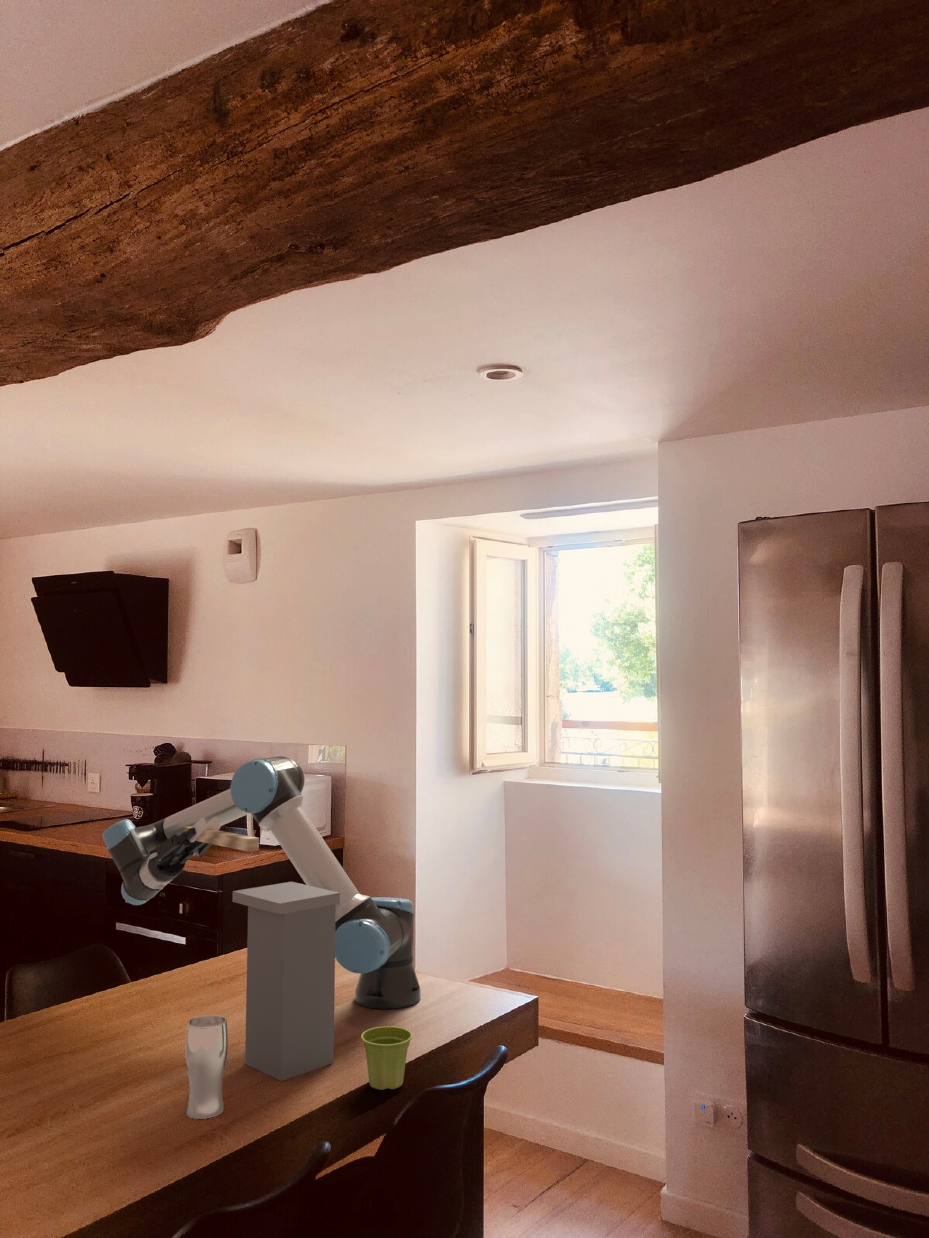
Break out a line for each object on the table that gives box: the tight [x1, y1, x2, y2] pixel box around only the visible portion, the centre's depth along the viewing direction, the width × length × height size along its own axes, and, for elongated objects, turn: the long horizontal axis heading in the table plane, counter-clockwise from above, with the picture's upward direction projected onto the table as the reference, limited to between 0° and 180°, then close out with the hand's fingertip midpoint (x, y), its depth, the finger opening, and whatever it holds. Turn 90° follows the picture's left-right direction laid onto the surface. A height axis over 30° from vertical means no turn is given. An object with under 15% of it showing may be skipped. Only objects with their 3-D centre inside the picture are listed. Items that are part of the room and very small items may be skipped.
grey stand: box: [231, 881, 340, 1082], centre depth 187 cm, size 16×14×32 cm
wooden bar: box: [184, 826, 260, 852], centre depth 206 cm, size 26×2×2 cm, turn 46°
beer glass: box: [184, 1014, 229, 1120], centre depth 164 cm, size 7×7×15 cm
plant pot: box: [360, 1025, 413, 1091], centre depth 175 cm, size 9×9×9 cm
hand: (210, 823), depth 209 cm, fingers closed on wooden bar, 2 cm apart
